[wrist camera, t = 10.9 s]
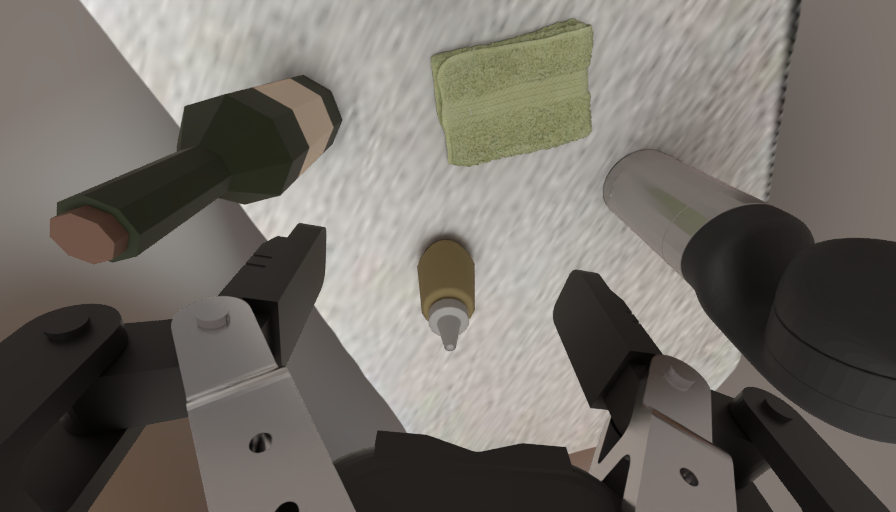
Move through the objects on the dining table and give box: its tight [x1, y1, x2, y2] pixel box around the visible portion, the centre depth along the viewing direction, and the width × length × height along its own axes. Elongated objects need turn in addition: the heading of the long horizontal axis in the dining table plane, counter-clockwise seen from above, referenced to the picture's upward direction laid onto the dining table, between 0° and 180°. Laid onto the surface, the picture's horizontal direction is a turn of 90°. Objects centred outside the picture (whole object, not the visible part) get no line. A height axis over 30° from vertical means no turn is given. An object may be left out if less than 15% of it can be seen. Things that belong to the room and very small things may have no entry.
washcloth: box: [431, 19, 593, 167], centre depth 39 cm, size 13×18×3 cm
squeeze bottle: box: [417, 240, 475, 351], centre depth 43 cm, size 8×8×18 cm
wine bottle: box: [50, 75, 342, 264], centre depth 27 cm, size 8×8×30 cm
